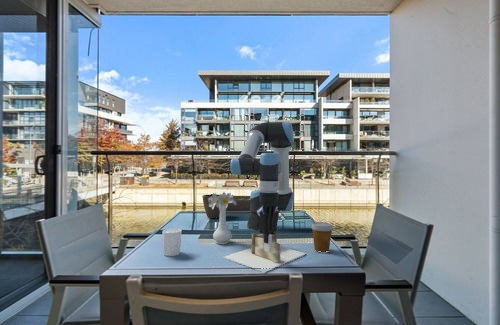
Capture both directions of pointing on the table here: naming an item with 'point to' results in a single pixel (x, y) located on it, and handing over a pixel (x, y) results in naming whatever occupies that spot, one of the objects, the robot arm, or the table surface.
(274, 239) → the fixed fence section
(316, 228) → the disposable coffee cup
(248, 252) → the board
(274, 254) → the hinged fence panel
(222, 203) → the flower vase
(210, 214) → the plant pot
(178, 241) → the white cup
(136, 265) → the table surface
